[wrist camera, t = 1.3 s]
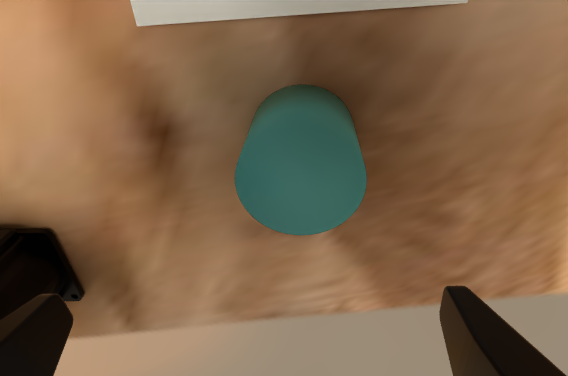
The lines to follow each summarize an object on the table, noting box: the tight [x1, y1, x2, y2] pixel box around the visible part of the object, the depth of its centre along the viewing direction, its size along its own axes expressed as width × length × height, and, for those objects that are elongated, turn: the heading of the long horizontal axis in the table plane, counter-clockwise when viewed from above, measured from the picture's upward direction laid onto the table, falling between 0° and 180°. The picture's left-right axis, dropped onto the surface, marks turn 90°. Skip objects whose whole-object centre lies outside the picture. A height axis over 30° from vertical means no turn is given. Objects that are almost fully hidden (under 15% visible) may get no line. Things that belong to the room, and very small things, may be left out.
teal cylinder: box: [235, 85, 367, 235], centre depth 17 cm, size 6×6×5 cm
